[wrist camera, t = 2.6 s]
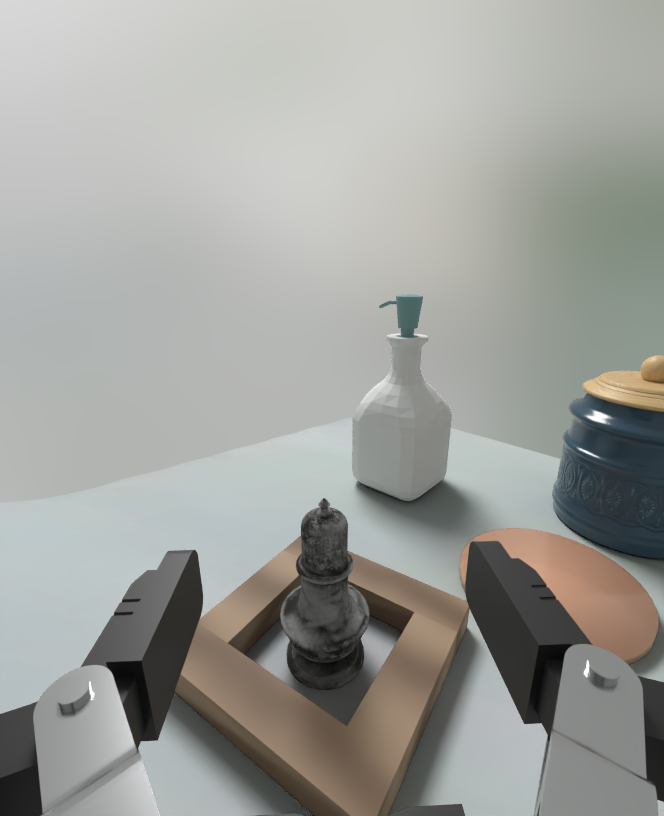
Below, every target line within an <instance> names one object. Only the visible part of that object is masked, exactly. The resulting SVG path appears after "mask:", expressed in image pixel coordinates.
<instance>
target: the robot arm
mask: <svg viewBox="0 0 664 816" xmlns="http://www.w3.org/2000/svg"><path fill="white" fill-rule="evenodd" d="M465 592H466V598H467V602H468V605H469V608H470V610H471V612H472V614H473V617H474V619H475V621H476V623H477V625H478V627H479V629H480V631H481V633H482V636H483V638H484V640H485V642H486V644H487V646H488V648H489V650H490V652H491V655H492V657H493V659H494V661H495V663H496V665H497V667H498V669H499V671H500V674H501V676H502V678H503V680H504V682H505V684H506V686H507V688H508V691H509V693H510V695H511V697H512V699H513V701H514V703H515V705H516V707H517V710H518V712H519V714H520V716H521V718H522V720H523V722H524V724H535V723H542V725H543V727H544V728H545V730H546V732H547V734H548V736H547V741H546V746H545V752H544V758H543V764H542V769H541V775H540V781H539V787H538V793H537V799H536V804H535V810H534V816H658V804H657V800H660V801H663V802H664V682H660V681H656V680H651V679H647V678H643V677H640V676H637V674H636V673H635V672H634V670H633V669H632V668H631V667H630V666H629V665H628V664H627V663H626V662H624V661H623V660H622V659H621V658H619V657H618V656H616V655H615V654H613V653H611V652H610V651H607V650H605V649H603V648H600V647H598V646H594V645H593V644H592V643H591V642H590V641H589V639H588V638H587V637H586V635H585V634H584V633H583V631H582V630H581V629H580V628H579V626H578V625H577V624H576V622H575V621H574V620H573V618H572V617H571V616H570V614H569V613H568V612H567V611H566V609H565V608H564V607H563V605H562V604H561V603H560V601H559V600H556V596H555V595H554V594H553V592H552V591H551V590H550V588H549V587H547V584H546V583H545V582H544V581H543V579H542V578H541V577H540V575H539V574H538V573H537V571H536V570H535V569H533V568H532V567H531V566H529V565H528V564H526V563H525V562H524V561H522V560H521V559H520V558H511V557H510V556H509V554H508V553H507V551H506V550H505V549H504V547H503V546H502V544H501V543H500V542H499V541H472V542H471V543H470V546H469V553H468V562H467V572H466V581H465ZM202 606H203V591H202V583H201V576H200V568H199V561H198V554H197V552H196V550H182V551H168V552H167V553H166V555H165V556H164V558H163V560H162V562H161V564H160V565H159V567H158V569H157V570H147V571H146V572H145V573H144V574H143V575H141V576H140V577H139V578H138V579H137V580H136V581H135V582H133V583H132V584H131V586H130V588H129V589H128V591H127V592H126V594H125V596H124V597H123V599H122V603H120V604H119V605H118V607H117V609H116V610H115V612H114V616H112V617H111V619H110V620H109V622H108V623H107V625H106V627H105V628H104V630H103V632H102V633H101V635H100V636H99V638H98V640H97V641H96V643H95V645H94V646H93V648H92V650H91V651H90V653H89V654H88V656H87V658H86V659H85V661H84V663H83V664H82V666H81V667H80V668H78V669H75V670H73V671H71V672H69V673H67V674H65V675H64V676H62V677H61V678H59V679H58V680H57V681H55V682H54V683H53V684H52V685H51V686H50V687H49V688H48V689H47V690H46V691H45V692H44V693H43V695H42V696H41V697H40V699H39V701H38V702H35V703H33V704H30V705H27V706H24V707H21V708H18V709H15V710H12V711H9V712H5V713H2V714H0V816H160V814H159V811H158V807H157V804H156V801H155V798H154V795H153V792H152V789H151V786H150V783H149V780H148V777H147V773H146V770H145V767H144V764H143V761H142V758H141V755H140V753H139V750H138V747H139V744H140V742H141V741H155V740H158V738H159V735H160V732H161V729H162V726H163V723H164V721H165V718H166V715H167V712H168V709H169V706H170V703H171V700H172V697H173V695H174V692H175V689H176V686H177V683H178V680H179V677H180V674H181V671H182V669H183V666H184V663H185V660H186V657H187V654H188V651H189V648H190V645H191V643H192V640H193V637H194V634H195V631H196V628H197V625H198V622H199V619H200V616H201V612H202ZM257 816H304V815H300V814H297V813H293V814H275V815H257ZM388 816H465V814H464V810H463V807H462V804H453V805H435V806H418V807H407V808H405V809H402V810H400V811H398V812H395V813H393V814H391V815H388Z"/></svg>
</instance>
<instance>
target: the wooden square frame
mask: <svg viewBox="0 0 664 816" xmlns="http://www.w3.org/2000/svg"><path fill="white" fill-rule="evenodd" d="M347 552H348V553H349V554H350V555H351V557H352V559H353V569H352V571H351V573H350V574H349V575H348V584H349V585H351V586H352V587H354V588H355V589H356V590H358V591H359V592H360V593H361V594H362V596H363V597H364V598H365V599H366V602H367V604H368V607H369V615H371V616H373V617H375V618H377V619H379V620H381V621H383V622H385V623H387V624H389V625H391V626H393V627H395V628H397V629H399V630H401V631H403V633H402V634H401V636H400V638H399V639H398V641H397V643H396V644H395V646H394V648H393V649H392V651H391V653H390V654H389V656H388V658H387V660H386V661H385V663H384V665H383V666H382V668H381V670H380V671H379V673H378V675H377V676H376V678H375V680H374V681H373V683H372V685H371V686H370V688H369V690H368V692H367V693H366V695H365V697H364V698H363V700H362V702H361V703H360V705H359V707H358V708H357V710H356V712H355V713H354V715H353V717H352V719H351V720H350V722H349V724H348V725H347V726H346V725H344V724H343V723H341V722H340V721H339V720H337V719H336V718H334V717H333V716H331V715H330V714H329V713H327V712H326V711H324V710H323V709H321V708H320V707H318V706H317V705H316V704H314V703H313V702H311V701H310V700H308V699H307V698H306V697H304V696H303V695H301V694H300V693H298V692H297V691H296V690H294V689H293V688H291V687H290V686H288V685H287V684H286V683H284V682H283V681H281V680H280V679H278V678H277V677H276V676H274V675H273V674H271V673H270V672H268V671H267V670H265V669H264V668H263V667H261V666H260V665H258V664H257V663H255V662H254V661H253V660H251V659H250V658H248V657H247V656H245V655H244V654H245V653H246V652H247V651H248V650H249V649H250V648H251V647H252V646H253V645H254V644H255V643H256V642H257V641H258V640H259V639H260V638H261V637H262V636H263V635H264V634H265V633H266V632H267V631H268V629H269V628H270V627H271V626H272V625H273V624H274V623H275V622H276V621H277V620H278V619H279V618H280V613H281V608H282V605H283V603H284V601H285V599H286V597H287V596H288V595H289V594H290V593H291V592H292V591H293V590H294V589H296V588H297V587H299V586H301V576H300V575H299V574H298V572H297V569H296V561H297V559H298V557H299V555H300V554H301V553H302V550H301V536H300V537H299V538H298V539H296V540H295V541H294V542H293V543H291V544H290V545H289V546H288V547H287V548H285V549H284V550H283V551H282V552H281V553H279V554H278V555H277V556H276V557H275V558H273V559H272V560H271V561H270V562H268V563H267V564H266V565H265V566H264V567H262V568H261V569H260V570H259V571H258V572H256V573H255V574H254V575H253V576H252V577H250V578H249V579H248V580H247V581H246V582H244V583H243V584H242V585H241V586H239V587H238V588H237V589H236V590H235V591H233V592H232V593H231V594H230V595H229V596H227V597H226V598H225V599H224V600H223V601H221V602H220V603H219V604H218V605H216V606H215V607H214V608H213V609H212V610H210V611H209V612H208V613H207V614H206V615H204V616H203V617H202V618H201V619H200V620H199V622H198V625H197V628H196V631H195V634H194V637H193V640H192V643H191V645H190V648H189V651H188V654H187V657H186V660H185V663H184V666H183V669H182V671H181V674H180V677H179V680H178V683H177V686H176V689H175V693H176V694H178V695H179V696H180V697H181V698H182V699H183V700H184V701H185V702H187V703H188V704H189V705H190V706H191V707H192V708H193V709H195V710H196V711H197V712H198V713H199V714H200V715H201V716H203V717H204V718H205V719H206V720H207V721H208V722H209V723H210V724H212V725H213V726H214V727H215V728H216V729H217V730H218V731H220V732H221V733H222V734H223V735H224V736H225V737H226V738H227V739H229V740H230V741H231V742H232V743H233V744H234V745H235V746H237V747H238V748H239V749H240V750H241V751H242V752H243V753H244V754H246V755H247V756H248V757H249V758H250V759H251V760H252V761H254V762H255V763H256V764H257V765H258V766H259V767H260V768H261V769H263V770H264V771H265V772H266V773H267V774H268V775H269V776H271V777H272V778H273V779H274V780H275V781H276V782H277V783H279V784H280V785H281V786H282V787H283V788H284V789H285V790H286V791H288V792H289V793H290V794H291V795H292V796H293V797H294V798H296V799H297V800H298V801H299V802H300V803H301V804H302V805H303V806H305V807H306V808H307V809H308V810H309V811H310V812H311V813H313V814H314V815H315V816H388V815H389V812H390V810H391V808H392V805H393V803H394V800H395V798H396V796H397V793H398V791H399V789H400V786H401V784H402V781H403V779H404V777H405V774H406V772H407V769H408V767H409V765H410V762H411V760H412V757H413V755H414V753H415V750H416V748H417V745H418V743H419V741H420V738H421V736H422V733H423V731H424V729H425V726H426V724H427V721H428V719H429V717H430V714H431V712H432V709H433V707H434V705H435V702H436V700H437V697H438V695H439V693H440V690H441V688H442V685H443V683H444V681H445V678H446V676H447V674H448V671H449V669H450V666H451V664H452V662H453V659H454V657H455V654H456V652H457V650H458V647H459V645H460V642H461V640H462V638H463V635H464V633H465V630H466V628H467V623H468V616H469V605H468V602H467V601H464V600H462V599H460V598H457V597H455V596H453V595H450V594H448V593H446V592H443V591H441V590H439V589H436V588H434V587H431V586H429V585H427V584H424V583H422V582H420V581H417V580H415V579H413V578H410V577H408V576H406V575H403V574H401V573H398V572H396V571H394V570H391V569H389V568H387V567H384V566H382V565H380V564H377V563H375V562H373V561H370V560H368V559H365V558H363V557H361V556H358V555H356V554H354V553H351V552H349V551H347Z"/></svg>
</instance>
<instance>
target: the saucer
mask: <svg viewBox="0 0 664 816" xmlns="http://www.w3.org/2000/svg"><path fill="white" fill-rule="evenodd" d="M472 541H499V542H500V543H501V544H502V546H503V547H504V549H505V550H506V551H507V553H508V554H509V556H510V557H511V558H520V559H521V560H522V561H524V562H525V563H526V564H528V565H529V566H531V567H532V568H533V569H535V570H536V571H537V573H538V574H539V575H540V577H541V578H542V579H543V581H544V582H545V583H546V584H547V587H549V588H550V590H551V591H552V592H553V594H554V595H555V596H556V600H559V601H560V603H561V604H562V605H563V607H564V608H565V609H566V611H567V612H568V613H569V614H570V616H571V617H572V618H573V620H574V621H575V622H576V624H577V625H578V626H579V628H580V629H581V630H582V631H583V633H584V634H585V635H586V637H587V638H588V639H589V641H590V642H591V643H592V644H593V645H594V646H598V647H600V648H603V649H605V650H607V651H610V652H611V653H613V654H615V655H616V656H618V657H619V658H621V659H622V660H623V661H624V662H626V663H627V664H631V663H634V662H636V661H638V660H639V659H641V658H643V657H644V656H645V655H646V654H647V653H648V652H649V651H650V649H651V647H652V646H653V643H654V640H655V637H656V634H657V630H658V627H659V618H658V614H657V610H656V607H655V605H654V603H653V601H652V599H651V597H650V596H649V594H648V593H647V591H646V590H645V589H644V588H643V586H642V585H641V584H640V583H639V582H638V581H637V580H636V579H635V578H634V577H633V576H632V575H631V574H630V573H628V572H627V571H626V570H625V569H624V568H622V567H621V566H620V565H618V564H617V563H615V562H614V561H613V560H611V559H609V558H608V557H606V556H605V555H603V554H601V553H599V552H597V551H596V550H594V549H592V548H590V547H588V546H585V545H583V544H581V543H579V542H576V541H573V540H571V539H568V538H565V537H562V536H559V535H555V534H552V533H548V532H543V531H538V530H531V529H520V528H507V529H498V530H492V531H489V532H485V533H483V534H481V535H478V536H477V537H475V538H474V539H472V540H471V541H470V542H469V543H468V544H467V545H466V547H465V548H464V550H463V553H462V556H461V563H460V579H461V583H462V586H463V589H464V591H465V581H466V572H467V562H468V553H469V546H470V543H471V542H472ZM465 594H466V592H465Z"/></svg>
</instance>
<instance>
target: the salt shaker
mask: <svg viewBox="0 0 664 816" xmlns="http://www.w3.org/2000/svg"><path fill="white" fill-rule="evenodd" d="M319 506H320V508H316V509H313V510H311V511H310V512H308V513H307V514H306V515H305V516H304V518H303V519H302V524H301V550H302V553H301V554H300V555H299V557H298V559H297V561H296V569H297V572H298V574H299V575H300V576H301V586H299V587H297V588H296V589H294V590H293V591H292V592H291V593H290V594H289V595H288V596H287V597H286V599H285V601H284V603H283V605H282V608H281V613H280V618H281V625H282V627H283V629H284V631H285V633H286V635H287V636H288V637H289V639H290V642H289V644H288V649H287V661H288V666H289V668H290V670H291V672H292V674H293V675H294V676H295V677H296V678H297V679H298V681H300V682H301V683H303V684H305V685H306V686H308V687H312V688H315V689H323V690H330V689H334V688H338V687H341V686H343V685H345V684H347V683H348V682H350V681H351V680H352V679H353V678H354V677H355V676H356V675H357V674H358V672H359V670H360V668H361V667H362V663H363V659H364V651H363V645H362V642H361V637H362V635H363V633H364V632H365V630H366V629H367V626H368V622H369V619H370V615H369V607H368V604H367V602H366V599H365V598H364V597H363V596H362V594H361V593H360V592H359V591H358V590H356V589H355V588H354V587H352V586H351V585H349V584H348V575H349V574H350V573H351V571H352V569H353V559H352V557H351V555H350V554H349V553H348V552H347V538H348V523H347V520H346V517H345V516H344V515H343V514H342V513H341V512H340V511H338V510H337V509H334V508H330V507H329V506H330V503H329V502H328V501H327V500H326V499H325V498H323V500H321V502H320V503H319Z"/></svg>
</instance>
